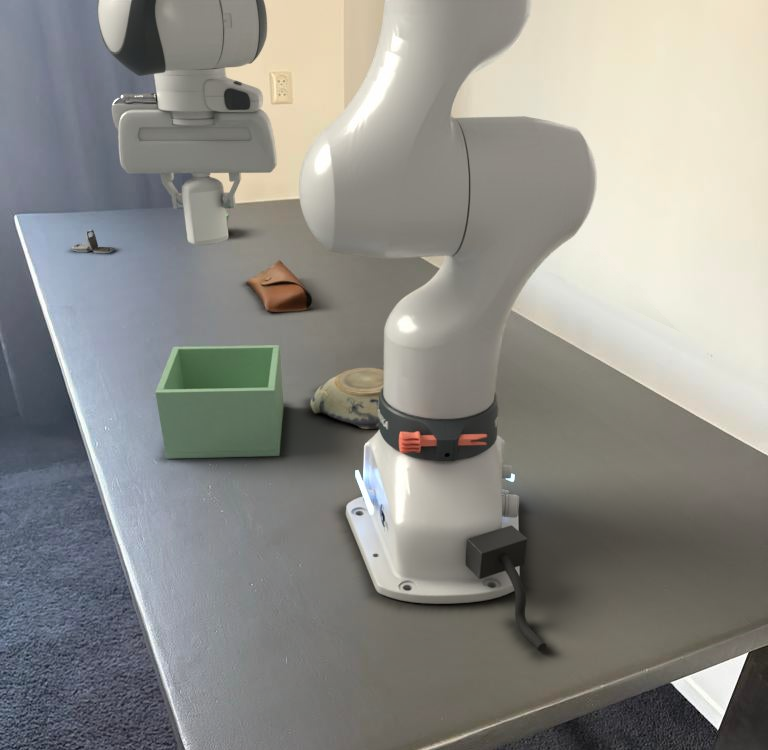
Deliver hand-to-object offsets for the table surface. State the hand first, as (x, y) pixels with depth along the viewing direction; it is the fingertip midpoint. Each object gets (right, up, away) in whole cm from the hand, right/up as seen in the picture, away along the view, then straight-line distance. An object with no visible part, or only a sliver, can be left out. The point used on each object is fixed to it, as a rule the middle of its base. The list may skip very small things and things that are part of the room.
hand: (205, 207), depth 108 cm
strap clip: (-37, +14, +60) cm, 71 cm away
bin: (+4, -31, -6) cm, 32 cm away
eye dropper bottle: (0, -4, +3) cm, 5 cm away
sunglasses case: (+5, -2, +37) cm, 38 cm away
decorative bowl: (+22, -27, +1) cm, 35 cm away
